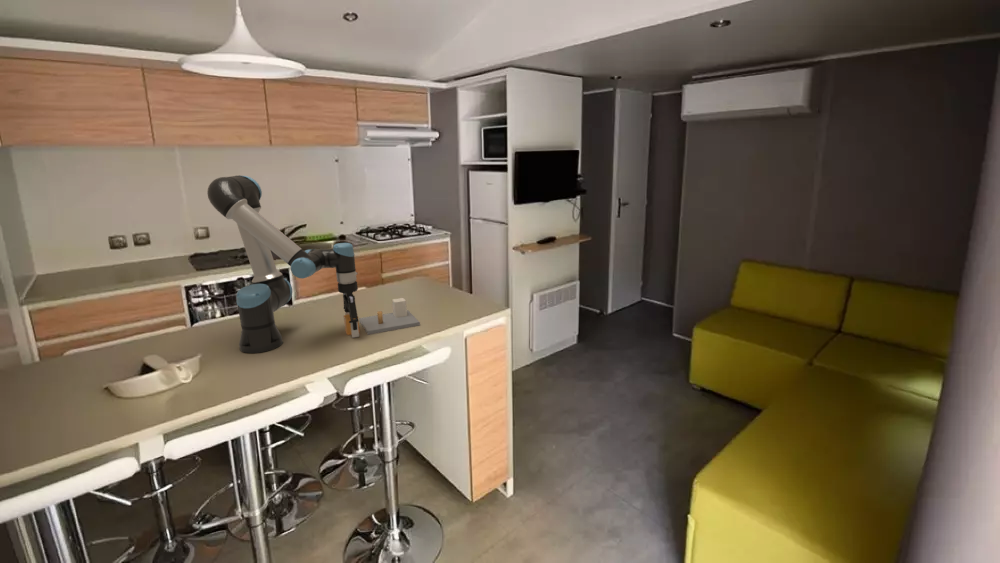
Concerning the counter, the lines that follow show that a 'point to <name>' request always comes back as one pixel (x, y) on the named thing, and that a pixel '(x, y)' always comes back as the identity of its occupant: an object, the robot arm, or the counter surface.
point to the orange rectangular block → (348, 324)
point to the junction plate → (390, 319)
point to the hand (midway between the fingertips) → (352, 331)
